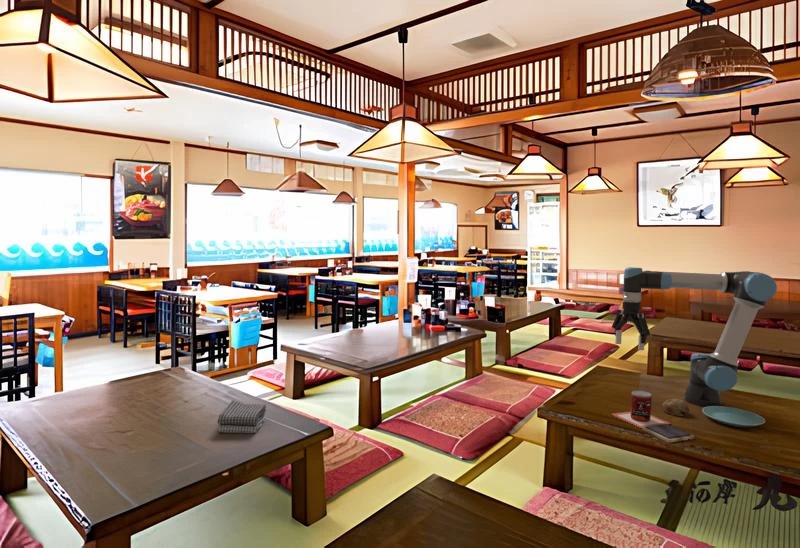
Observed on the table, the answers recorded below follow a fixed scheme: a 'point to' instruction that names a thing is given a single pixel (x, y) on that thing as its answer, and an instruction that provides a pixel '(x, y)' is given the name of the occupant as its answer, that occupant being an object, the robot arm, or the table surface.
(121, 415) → the table surface
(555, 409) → the table surface
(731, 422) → the plate
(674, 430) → the ink pad
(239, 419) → the towel
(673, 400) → the bread roll
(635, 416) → the canned food
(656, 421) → the print sheet
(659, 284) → the robot arm
